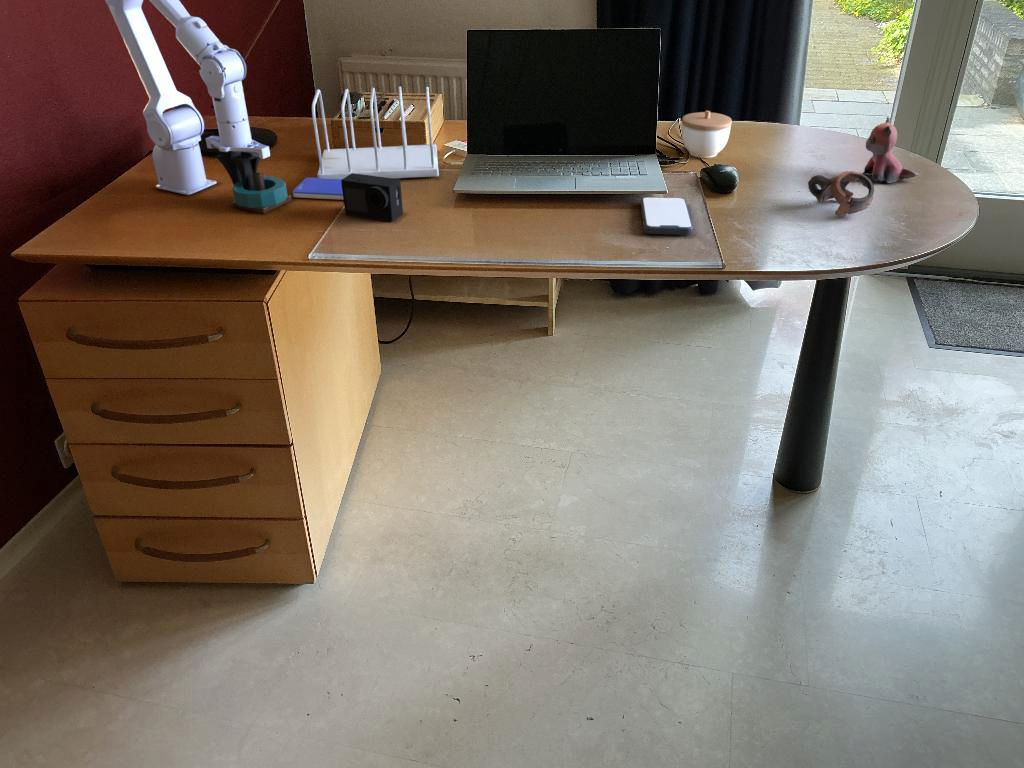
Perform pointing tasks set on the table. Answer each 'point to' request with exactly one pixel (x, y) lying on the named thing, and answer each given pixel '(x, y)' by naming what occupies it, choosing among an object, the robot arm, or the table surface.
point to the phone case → (666, 216)
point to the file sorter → (375, 150)
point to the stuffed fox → (885, 155)
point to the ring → (261, 193)
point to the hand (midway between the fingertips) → (245, 188)
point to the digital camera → (372, 197)
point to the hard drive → (319, 189)
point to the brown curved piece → (841, 191)
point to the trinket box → (705, 133)
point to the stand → (259, 186)
